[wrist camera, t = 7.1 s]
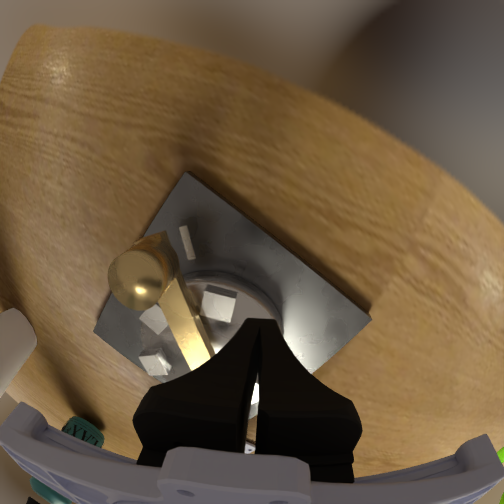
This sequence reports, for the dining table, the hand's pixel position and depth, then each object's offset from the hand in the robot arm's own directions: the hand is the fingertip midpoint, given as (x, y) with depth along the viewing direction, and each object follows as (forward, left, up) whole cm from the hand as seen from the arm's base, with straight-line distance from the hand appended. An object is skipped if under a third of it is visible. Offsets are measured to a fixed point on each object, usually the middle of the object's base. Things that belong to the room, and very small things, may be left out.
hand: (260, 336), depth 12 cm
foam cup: (-28, +19, -10) cm, 35 cm away
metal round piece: (-6, +1, -8) cm, 10 cm away
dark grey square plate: (-7, 0, -9) cm, 12 cm away
